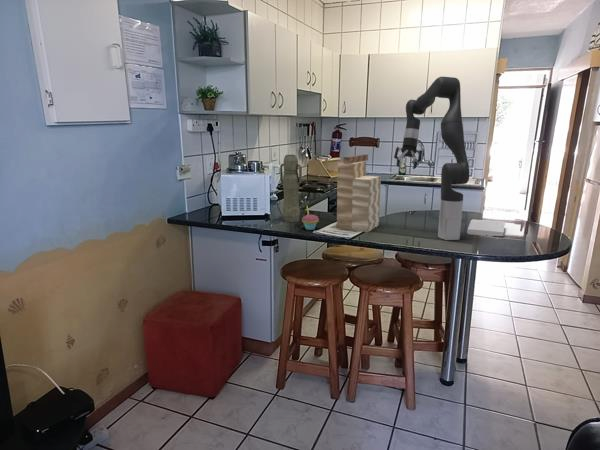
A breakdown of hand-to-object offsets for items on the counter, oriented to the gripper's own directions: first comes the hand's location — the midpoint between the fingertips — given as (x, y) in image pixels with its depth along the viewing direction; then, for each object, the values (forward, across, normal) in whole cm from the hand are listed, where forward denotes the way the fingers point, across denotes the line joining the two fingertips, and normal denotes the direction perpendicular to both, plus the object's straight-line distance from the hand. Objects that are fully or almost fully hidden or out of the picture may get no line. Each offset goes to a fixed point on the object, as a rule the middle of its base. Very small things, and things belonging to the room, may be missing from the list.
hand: (406, 168), depth 218 cm
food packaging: (+27, +38, -26) cm, 53 cm away
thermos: (+37, -57, -8) cm, 68 cm away
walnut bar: (+2, -28, -20) cm, 35 cm away
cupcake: (+38, -46, -26) cm, 65 cm away
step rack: (+34, -22, -22) cm, 46 cm away
